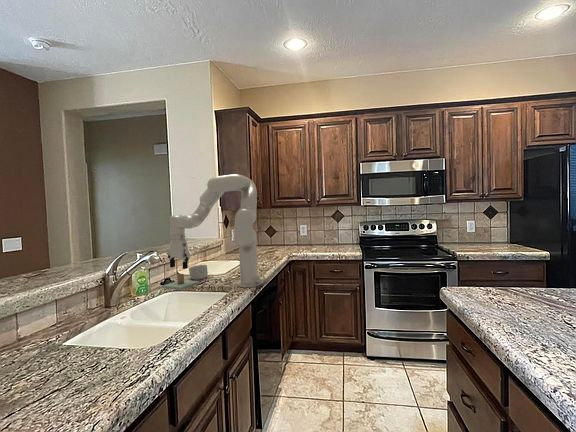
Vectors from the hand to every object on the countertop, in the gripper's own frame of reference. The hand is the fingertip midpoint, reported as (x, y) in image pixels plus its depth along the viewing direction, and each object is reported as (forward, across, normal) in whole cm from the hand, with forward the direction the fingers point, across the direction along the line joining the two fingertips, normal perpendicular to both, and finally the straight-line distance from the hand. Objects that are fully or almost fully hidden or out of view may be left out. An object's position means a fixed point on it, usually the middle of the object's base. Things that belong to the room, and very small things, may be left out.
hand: (178, 267), depth 185 cm
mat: (+10, -1, 0) cm, 10 cm away
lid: (+10, -1, 0) cm, 10 cm away
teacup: (+10, +1, -17) cm, 20 cm away
